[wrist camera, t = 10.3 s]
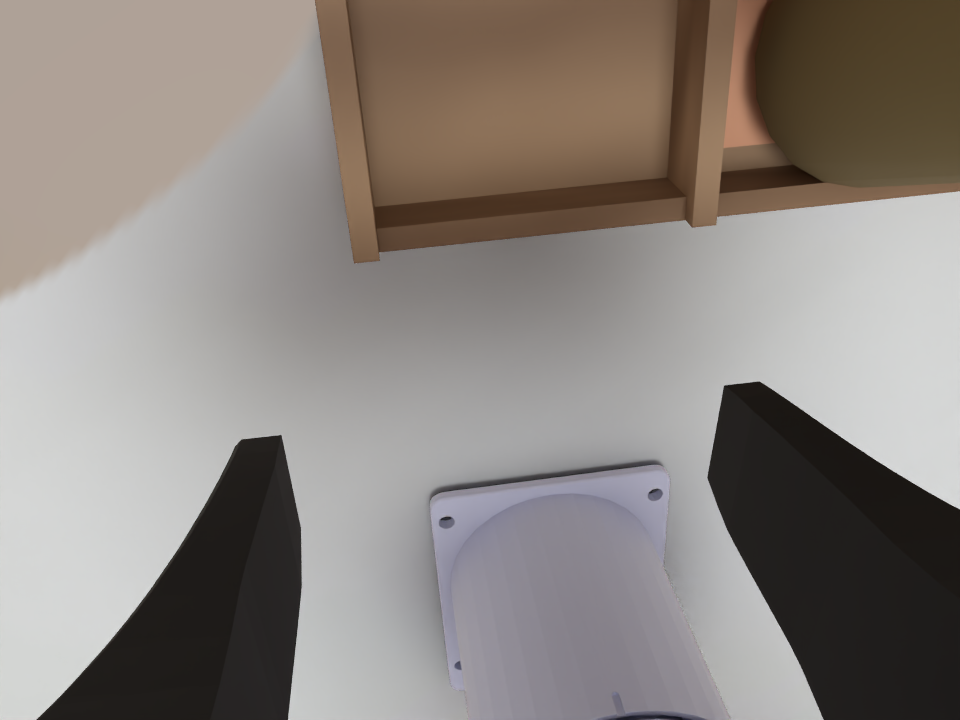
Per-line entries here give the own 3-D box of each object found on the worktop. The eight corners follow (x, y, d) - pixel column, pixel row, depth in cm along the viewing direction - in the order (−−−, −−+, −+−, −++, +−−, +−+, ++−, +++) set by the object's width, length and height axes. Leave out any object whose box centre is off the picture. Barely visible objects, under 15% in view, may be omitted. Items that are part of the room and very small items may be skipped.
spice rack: (1222, 129, 24) (1387, 178, 20) (353, 217, 22) (354, 291, 18) (1377, -254, 19) (1629, -284, 16) (295, -188, 17) (279, -204, 14)
